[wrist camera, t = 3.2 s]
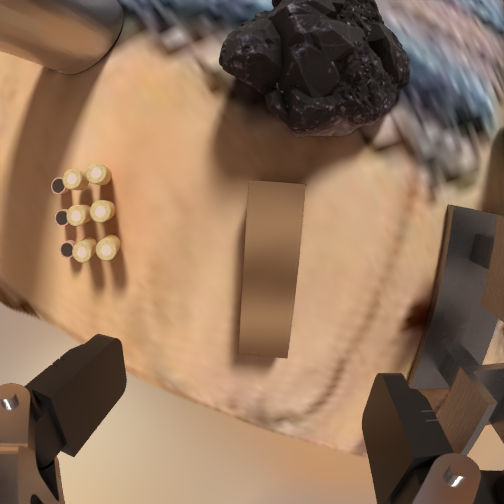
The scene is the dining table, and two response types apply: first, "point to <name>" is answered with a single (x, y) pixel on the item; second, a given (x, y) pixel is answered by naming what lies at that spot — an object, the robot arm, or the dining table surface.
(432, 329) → the bracket stand
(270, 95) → the crystal cluster
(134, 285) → the dining table surface
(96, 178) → the ammunition
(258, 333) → the walnut rail
